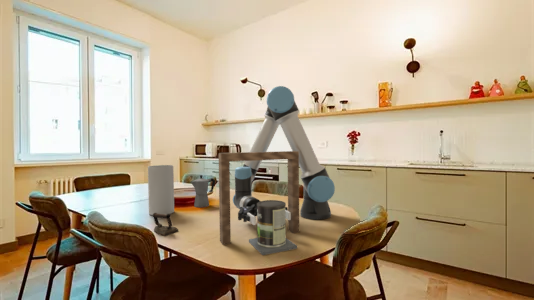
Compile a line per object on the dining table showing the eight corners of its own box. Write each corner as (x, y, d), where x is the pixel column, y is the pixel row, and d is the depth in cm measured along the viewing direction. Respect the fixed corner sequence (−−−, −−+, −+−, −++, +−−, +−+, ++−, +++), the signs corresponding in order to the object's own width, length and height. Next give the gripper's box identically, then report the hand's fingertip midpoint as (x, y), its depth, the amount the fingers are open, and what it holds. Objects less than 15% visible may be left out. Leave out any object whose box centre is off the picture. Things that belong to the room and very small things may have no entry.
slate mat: (280, 236, 104) (280, 234, 104) (297, 248, 93) (297, 245, 93) (248, 241, 99) (248, 239, 99) (262, 255, 87) (262, 252, 87)
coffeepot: (193, 208, 151) (193, 176, 151) (188, 205, 159) (187, 175, 158) (218, 204, 160) (218, 174, 160) (212, 202, 168) (211, 173, 167)
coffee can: (258, 248, 90) (257, 207, 90) (256, 237, 101) (256, 200, 100) (288, 247, 91) (287, 206, 91) (283, 236, 101) (283, 199, 101)
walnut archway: (294, 229, 113) (293, 151, 113) (299, 232, 110) (298, 151, 109) (219, 241, 100) (218, 153, 100) (222, 244, 97) (221, 153, 96)
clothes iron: (166, 237, 106) (159, 213, 106) (148, 239, 112) (142, 216, 112) (179, 231, 112) (173, 208, 112) (162, 233, 118) (156, 211, 118)
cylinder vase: (168, 208, 151) (167, 164, 151) (178, 213, 142) (177, 166, 142) (145, 213, 143) (144, 166, 142) (154, 217, 134) (153, 167, 133)
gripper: (277, 211, 119) (303, 224, 99) (222, 218, 108) (238, 234, 89) (277, 194, 118) (303, 204, 99) (222, 199, 108) (238, 212, 89)
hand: (272, 218), depth 94 cm, fingers open, 13 cm apart
